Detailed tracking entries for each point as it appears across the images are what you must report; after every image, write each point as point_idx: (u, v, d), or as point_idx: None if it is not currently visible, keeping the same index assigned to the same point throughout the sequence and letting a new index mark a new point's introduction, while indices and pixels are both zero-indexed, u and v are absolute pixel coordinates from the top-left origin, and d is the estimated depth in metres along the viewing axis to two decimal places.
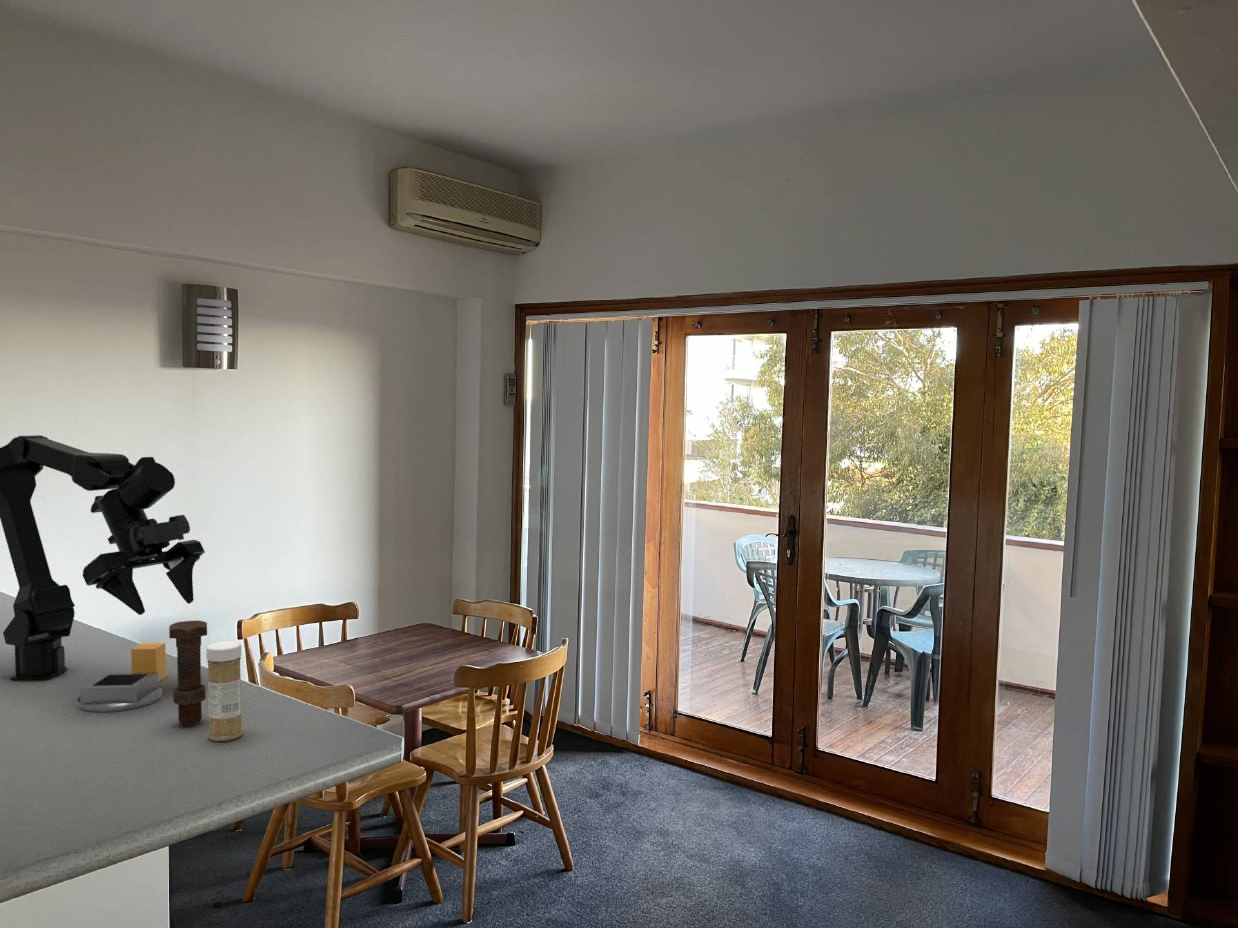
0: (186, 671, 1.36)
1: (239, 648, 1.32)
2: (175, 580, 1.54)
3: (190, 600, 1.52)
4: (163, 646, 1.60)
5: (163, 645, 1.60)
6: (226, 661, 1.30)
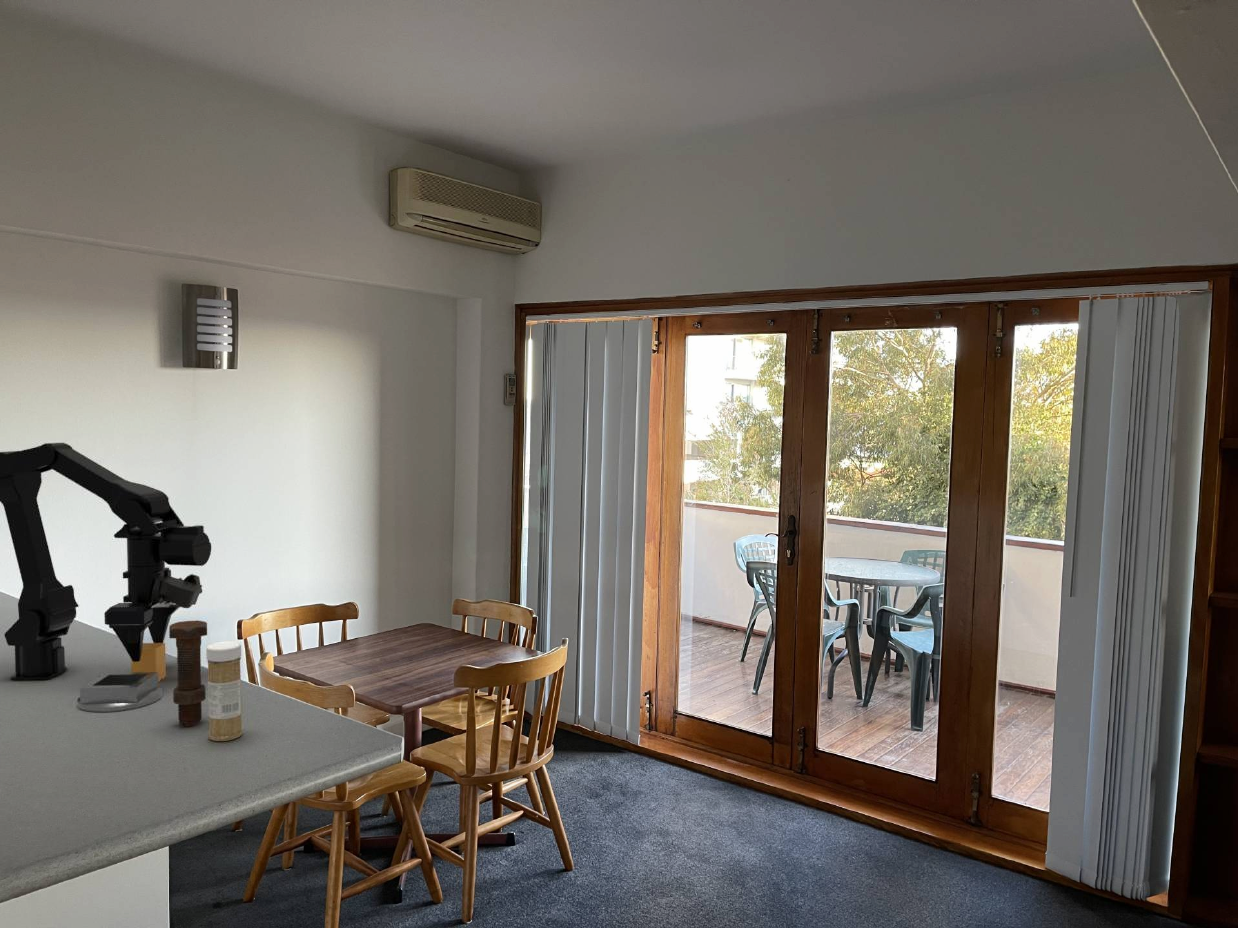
0: (186, 671, 1.36)
1: (239, 648, 1.32)
2: (150, 620, 1.63)
3: None
4: (163, 646, 1.60)
5: (163, 645, 1.60)
6: (226, 661, 1.30)
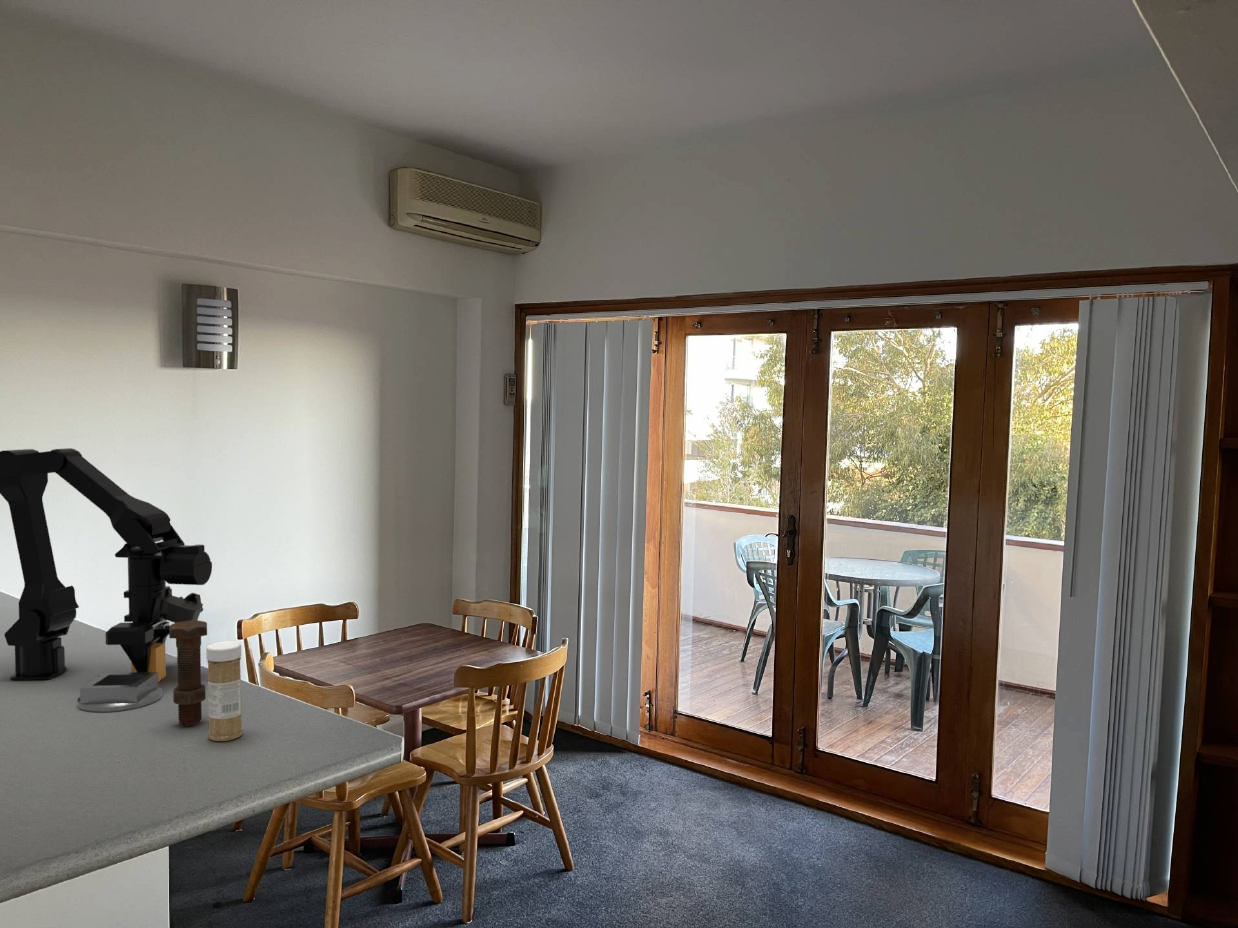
0: (186, 671, 1.36)
1: (239, 648, 1.32)
2: None
3: None
4: (163, 646, 1.60)
5: (163, 645, 1.60)
6: (226, 661, 1.30)
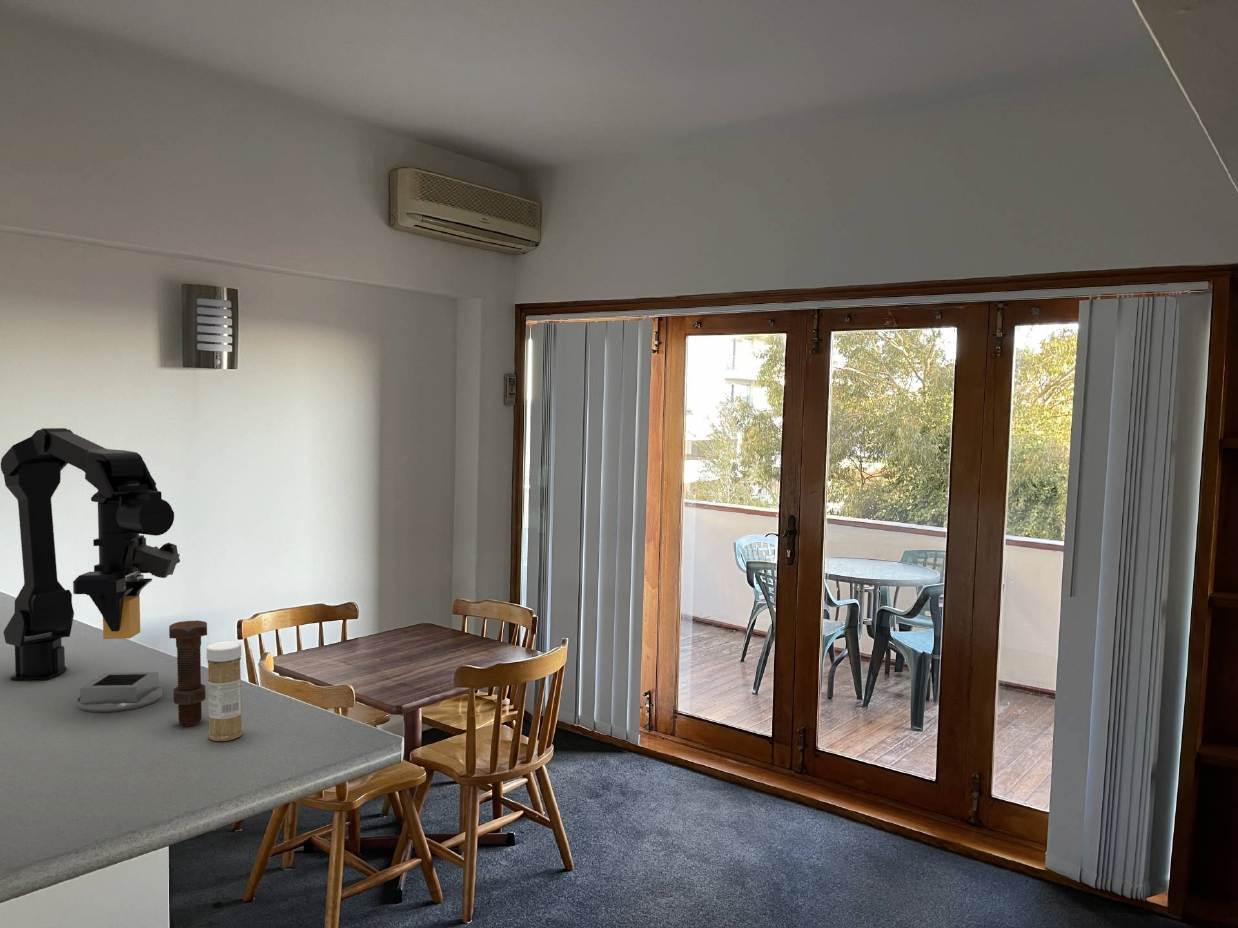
0: (186, 671, 1.36)
1: (239, 648, 1.32)
2: None
3: None
4: (137, 599, 1.49)
5: (137, 598, 1.49)
6: (226, 661, 1.30)
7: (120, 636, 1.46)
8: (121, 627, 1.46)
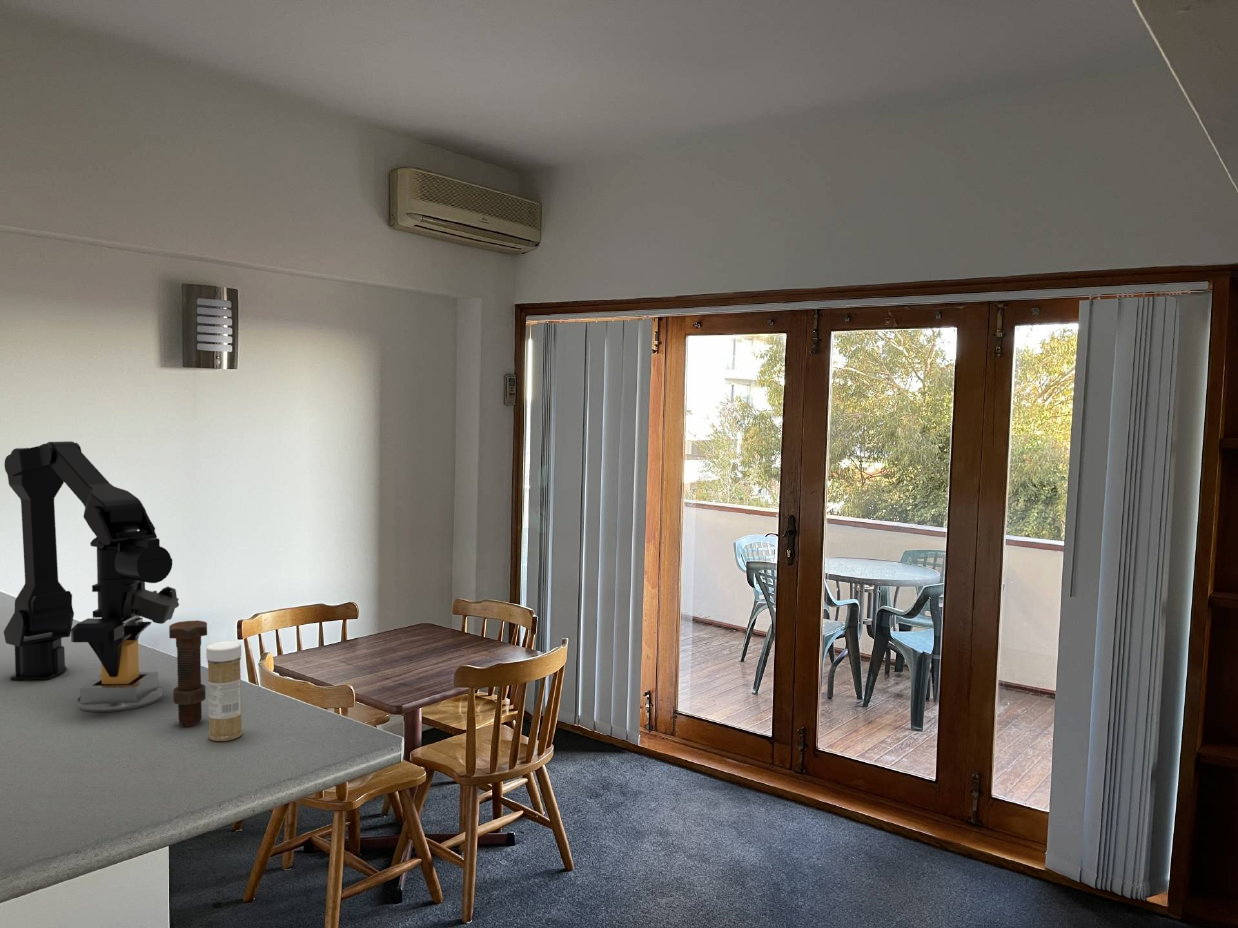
0: (186, 671, 1.36)
1: (239, 648, 1.32)
2: None
3: None
4: (135, 644, 1.49)
5: (136, 642, 1.49)
6: (226, 661, 1.30)
7: (118, 681, 1.46)
8: (120, 672, 1.46)
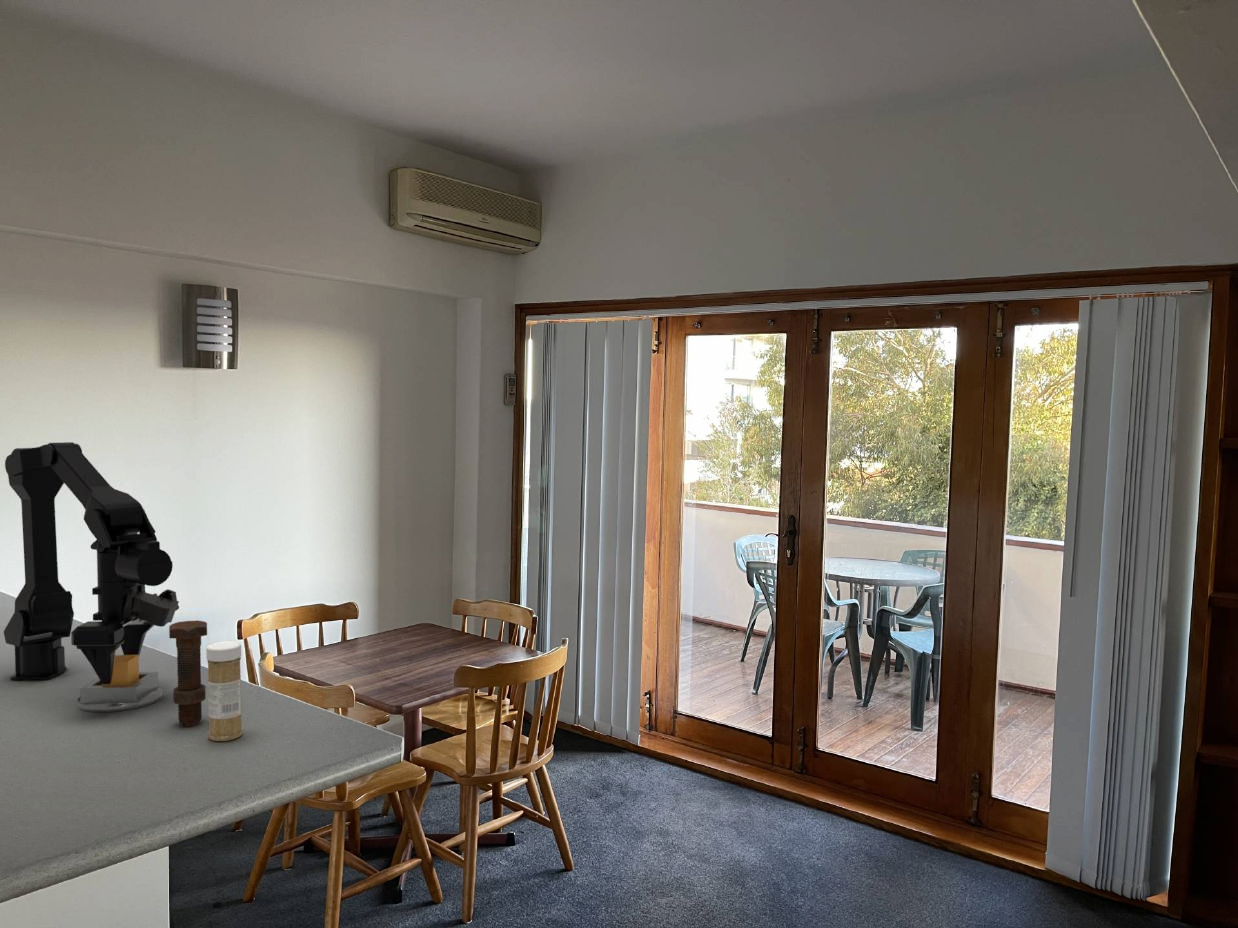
0: (186, 671, 1.36)
1: (239, 648, 1.32)
2: (124, 638, 1.53)
3: None
4: (136, 659, 1.49)
5: (136, 657, 1.49)
6: (226, 661, 1.30)
7: None
8: None
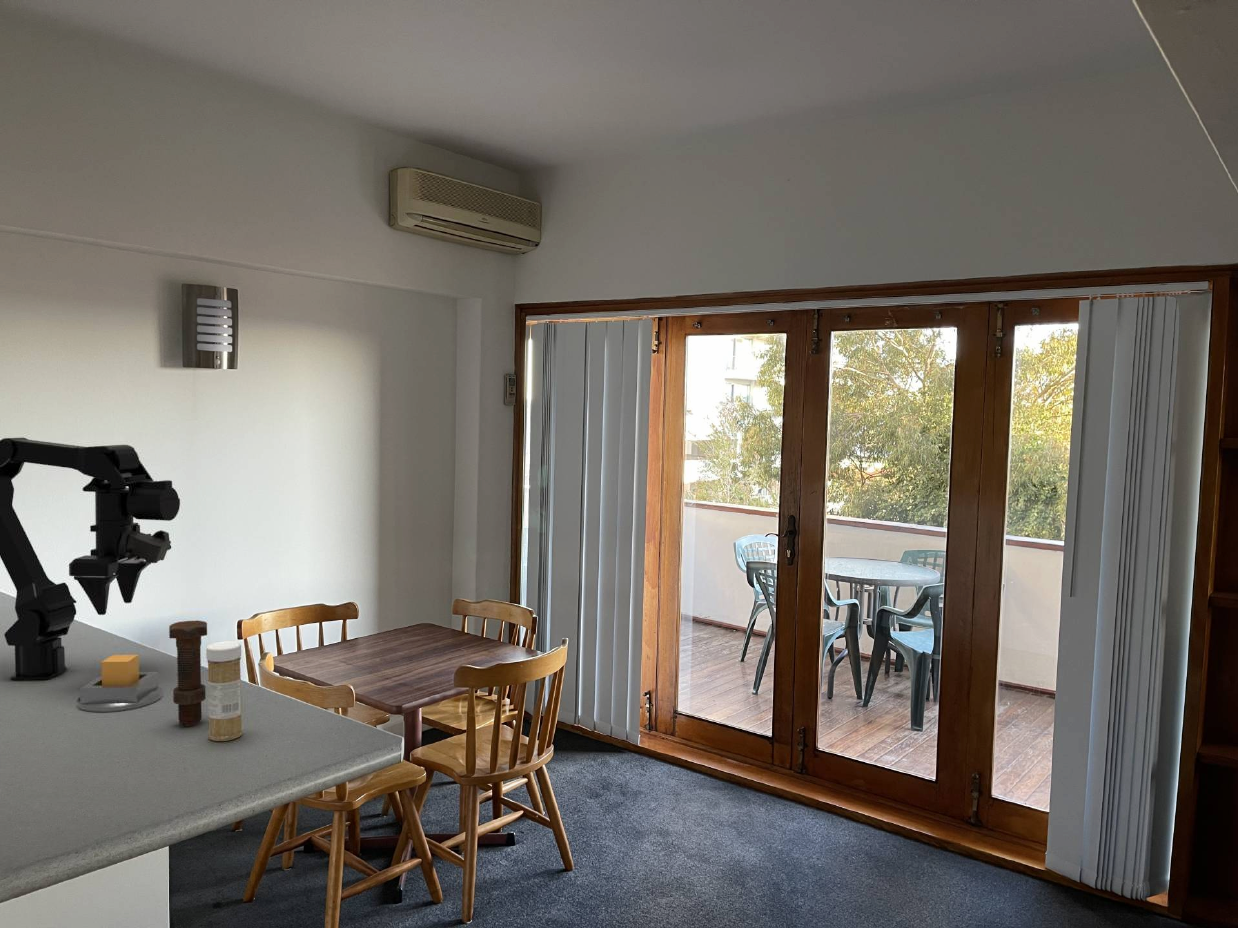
0: (186, 671, 1.36)
1: (239, 648, 1.32)
2: (120, 575, 1.64)
3: (129, 601, 1.63)
4: (136, 659, 1.49)
5: (136, 657, 1.49)
6: (226, 661, 1.30)
7: None
8: None
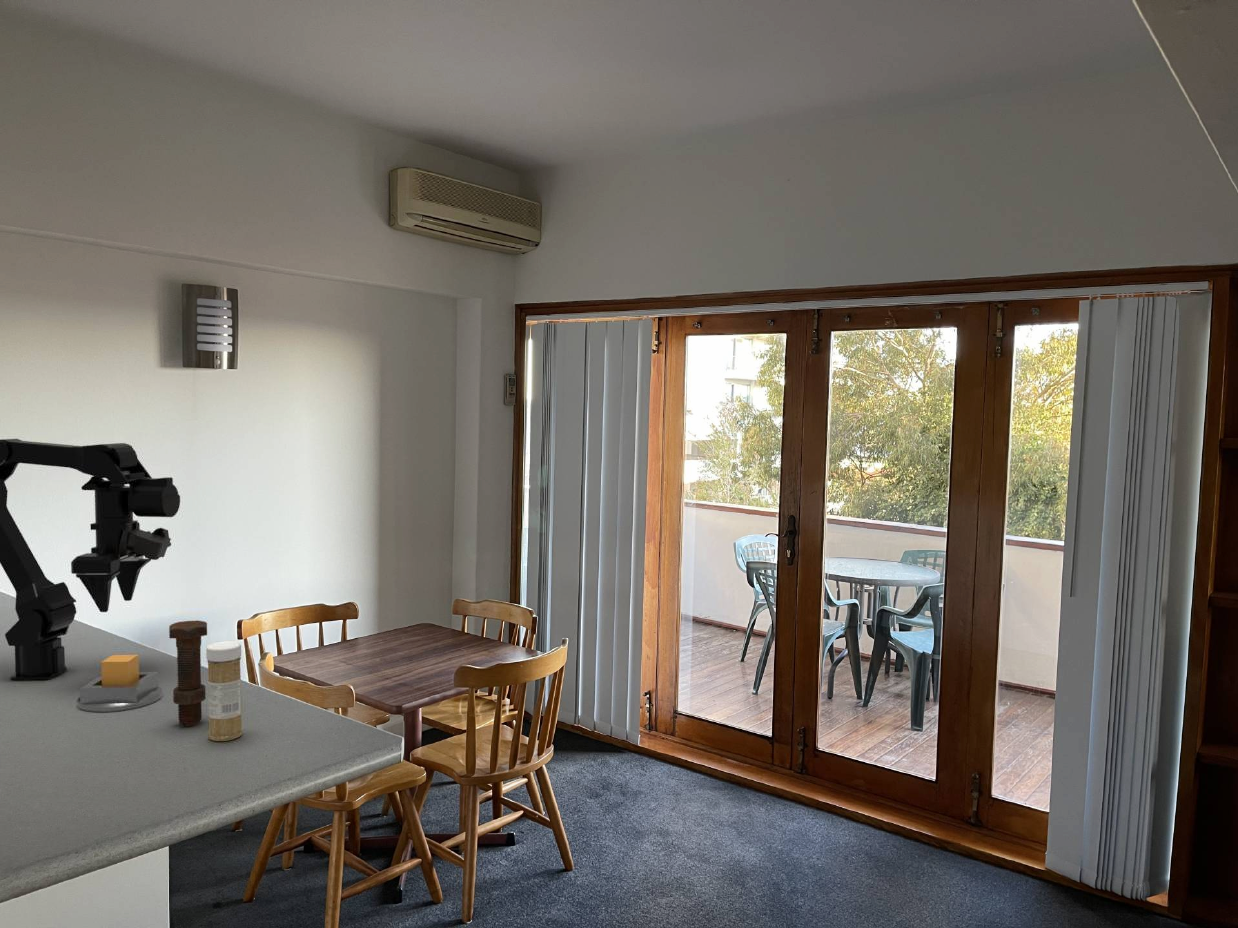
0: (186, 671, 1.36)
1: (239, 648, 1.32)
2: (120, 573, 1.64)
3: (129, 599, 1.64)
4: (136, 659, 1.49)
5: (136, 657, 1.49)
6: (226, 661, 1.30)
7: None
8: None
